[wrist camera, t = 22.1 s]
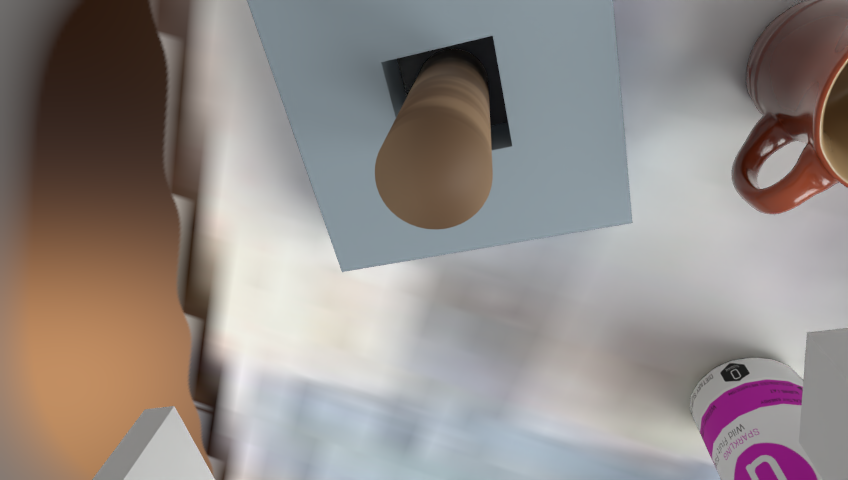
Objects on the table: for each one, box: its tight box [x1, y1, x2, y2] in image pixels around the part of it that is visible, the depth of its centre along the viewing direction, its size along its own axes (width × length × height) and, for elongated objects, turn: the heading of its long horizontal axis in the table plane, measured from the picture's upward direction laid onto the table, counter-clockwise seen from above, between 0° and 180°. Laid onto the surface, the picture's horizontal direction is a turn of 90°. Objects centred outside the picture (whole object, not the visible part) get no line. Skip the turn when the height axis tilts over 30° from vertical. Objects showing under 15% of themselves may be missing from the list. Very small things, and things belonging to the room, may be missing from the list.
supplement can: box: [690, 358, 823, 480], centre depth 37 cm, size 8×8×15 cm
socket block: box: [247, 0, 632, 272], centre depth 33 cm, size 18×18×5 cm
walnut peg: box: [375, 49, 493, 229], centre depth 28 cm, size 4×4×16 cm
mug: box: [732, 0, 848, 214], centre depth 29 cm, size 12×9×10 cm
